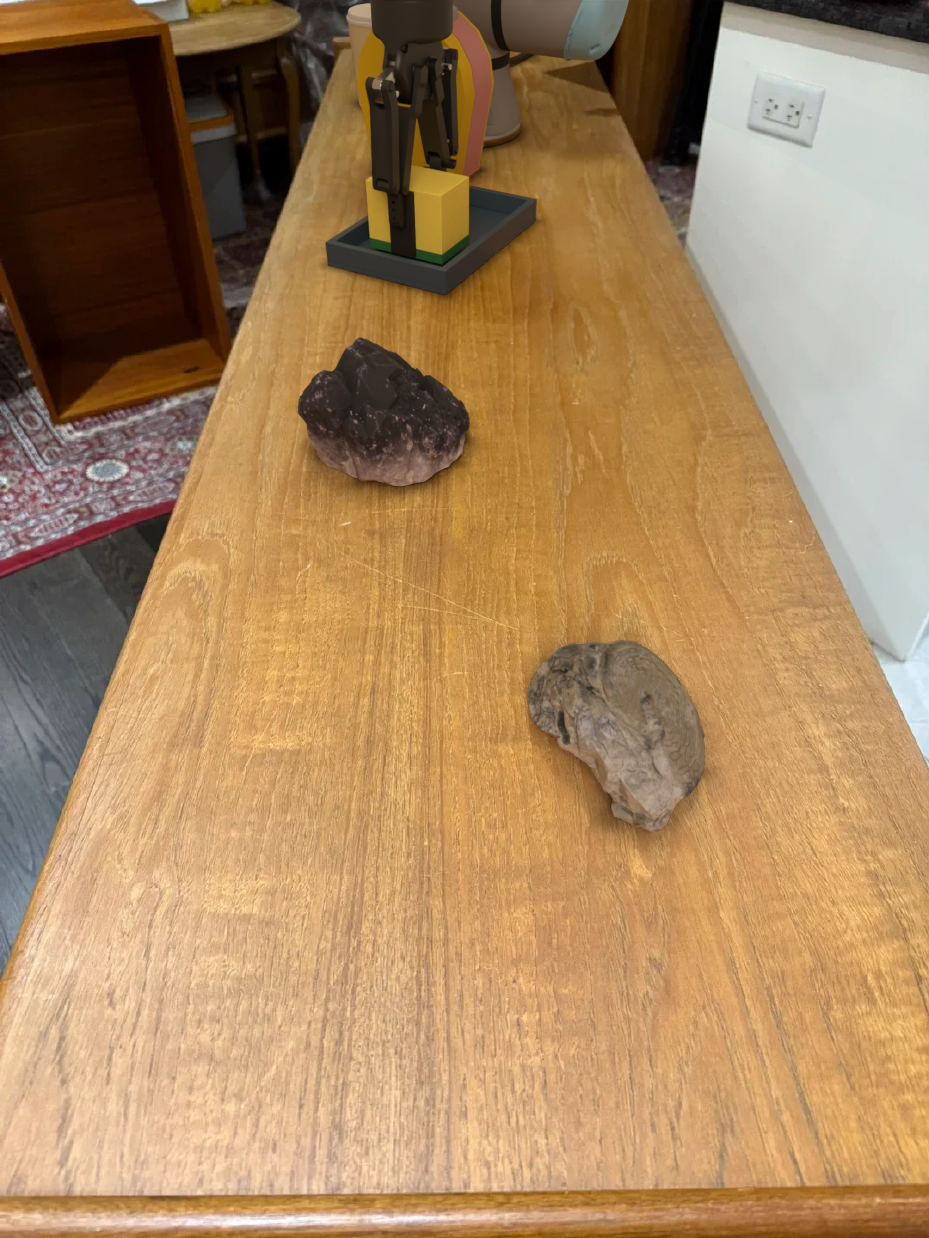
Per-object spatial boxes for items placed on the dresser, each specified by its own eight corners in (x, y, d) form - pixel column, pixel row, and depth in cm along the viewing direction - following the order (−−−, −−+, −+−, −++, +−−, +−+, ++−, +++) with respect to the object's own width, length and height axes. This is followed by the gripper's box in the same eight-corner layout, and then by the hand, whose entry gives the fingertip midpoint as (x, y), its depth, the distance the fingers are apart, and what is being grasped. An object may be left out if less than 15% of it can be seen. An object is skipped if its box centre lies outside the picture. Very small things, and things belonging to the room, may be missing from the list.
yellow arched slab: (493, 169, 114) (498, 0, 101) (464, 190, 109) (465, 15, 96) (395, 151, 119) (387, -13, 106) (363, 170, 114) (350, 1, 101)
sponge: (399, 227, 99) (395, 161, 94) (469, 244, 96) (469, 176, 91) (370, 247, 96) (365, 179, 90) (442, 264, 93) (440, 195, 88)
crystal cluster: (450, 397, 77) (437, 286, 71) (493, 475, 68) (483, 354, 61) (301, 430, 76) (273, 318, 69) (323, 515, 66) (293, 394, 59)
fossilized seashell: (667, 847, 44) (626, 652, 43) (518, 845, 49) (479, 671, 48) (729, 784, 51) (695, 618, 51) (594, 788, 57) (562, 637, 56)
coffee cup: (406, 115, 130) (402, 19, 121) (345, 111, 131) (337, 15, 123) (421, 96, 136) (418, 4, 128) (363, 93, 138) (356, 1, 129)
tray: (428, 198, 108) (427, 176, 106) (535, 221, 103) (537, 199, 101) (327, 265, 94) (324, 242, 93) (445, 295, 90) (445, 271, 88)
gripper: (390, 11, 72) (404, 284, 89) (496, -30, 84) (490, 218, 100) (315, 1, 74) (342, 269, 91) (427, -37, 86) (433, 206, 103)
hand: (419, 242), depth 96 cm, fingers closed on sponge, 6 cm apart
